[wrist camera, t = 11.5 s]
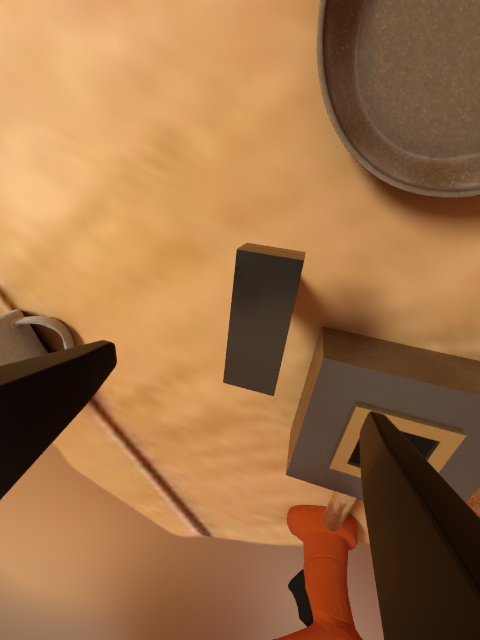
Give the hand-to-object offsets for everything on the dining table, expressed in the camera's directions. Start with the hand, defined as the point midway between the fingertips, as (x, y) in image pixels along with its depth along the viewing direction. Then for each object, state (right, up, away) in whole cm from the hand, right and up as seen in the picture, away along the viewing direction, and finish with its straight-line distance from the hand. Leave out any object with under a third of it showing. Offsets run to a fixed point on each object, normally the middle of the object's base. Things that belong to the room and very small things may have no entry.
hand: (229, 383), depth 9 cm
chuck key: (+3, +5, +11) cm, 12 cm away
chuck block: (+11, -9, +15) cm, 20 cm away
